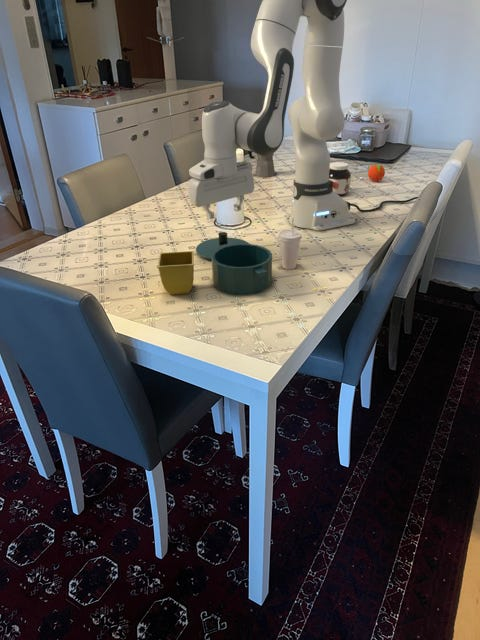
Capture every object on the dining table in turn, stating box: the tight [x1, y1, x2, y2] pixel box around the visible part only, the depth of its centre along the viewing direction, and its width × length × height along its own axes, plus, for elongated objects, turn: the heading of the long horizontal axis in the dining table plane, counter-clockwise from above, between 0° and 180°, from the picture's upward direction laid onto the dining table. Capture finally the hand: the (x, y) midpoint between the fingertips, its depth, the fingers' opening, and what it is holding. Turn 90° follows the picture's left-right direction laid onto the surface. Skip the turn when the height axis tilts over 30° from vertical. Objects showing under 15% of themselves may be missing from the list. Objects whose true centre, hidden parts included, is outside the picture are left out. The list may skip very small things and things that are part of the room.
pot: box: [211, 243, 273, 296], centre depth 129 cm, size 16×21×8 cm
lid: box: [195, 231, 250, 261], centre depth 147 cm, size 17×17×6 cm
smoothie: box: [277, 218, 303, 270], centre depth 135 cm, size 6×6×14 cm
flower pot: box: [157, 250, 195, 295], centre depth 125 cm, size 9×9×9 cm
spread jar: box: [329, 161, 352, 198], centre depth 193 cm, size 12×11×12 cm
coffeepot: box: [246, 150, 276, 178], centre depth 218 cm, size 15×9×18 cm, turn 103°
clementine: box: [367, 164, 386, 182], centre depth 207 cm, size 8×7×7 cm
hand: (224, 214), depth 143 cm, fingers open, 8 cm apart
